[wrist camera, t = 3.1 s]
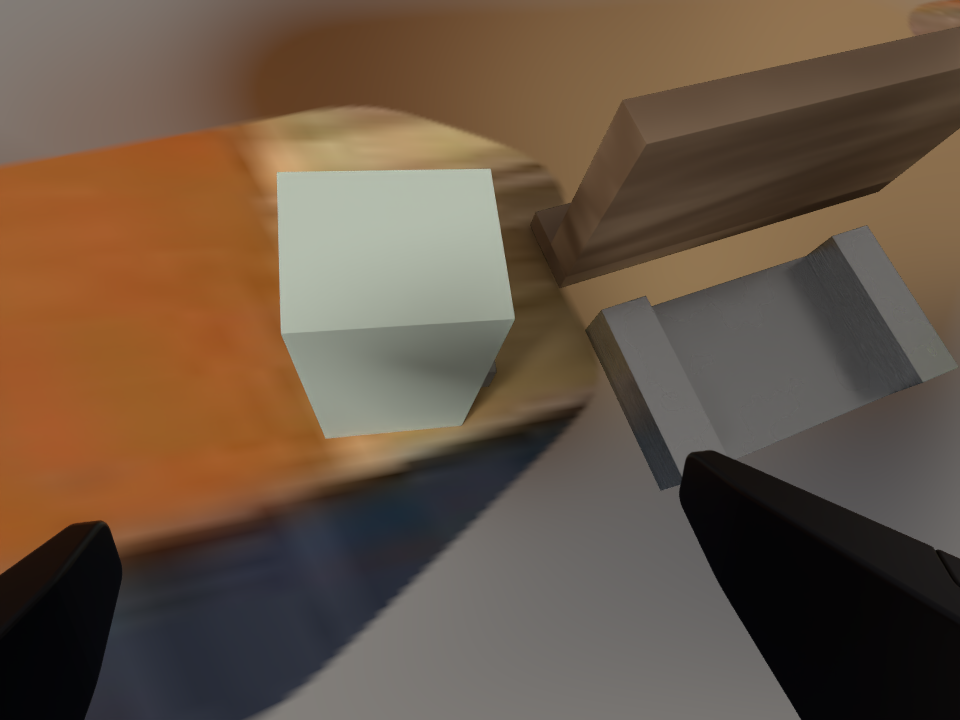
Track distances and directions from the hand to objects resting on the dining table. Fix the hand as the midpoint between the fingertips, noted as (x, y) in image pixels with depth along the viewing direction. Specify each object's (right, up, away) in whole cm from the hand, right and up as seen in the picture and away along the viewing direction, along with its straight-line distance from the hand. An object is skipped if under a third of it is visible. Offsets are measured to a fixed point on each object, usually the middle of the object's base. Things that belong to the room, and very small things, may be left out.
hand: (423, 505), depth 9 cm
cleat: (+13, +2, +16) cm, 21 cm away
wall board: (+12, +9, +18) cm, 24 cm away
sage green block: (-2, +1, +13) cm, 14 cm away
